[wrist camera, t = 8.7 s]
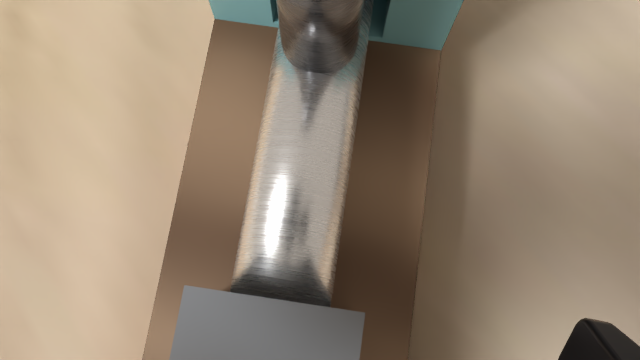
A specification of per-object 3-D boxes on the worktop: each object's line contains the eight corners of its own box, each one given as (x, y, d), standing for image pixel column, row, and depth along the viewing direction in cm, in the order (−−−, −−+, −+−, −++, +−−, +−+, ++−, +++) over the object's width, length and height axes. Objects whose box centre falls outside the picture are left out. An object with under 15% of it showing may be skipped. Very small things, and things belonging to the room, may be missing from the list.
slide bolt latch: (360, 706, 18) (384, 903, 12) (94, 661, 18) (-19, 830, 12) (439, -4, 23) (483, -120, 17) (237, -31, 24) (211, -155, 17)
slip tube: (321, 385, 17) (326, 428, 10) (220, 369, 17) (147, 400, 10) (378, -17, 21) (414, -216, 13) (292, -28, 21) (279, -233, 13)
